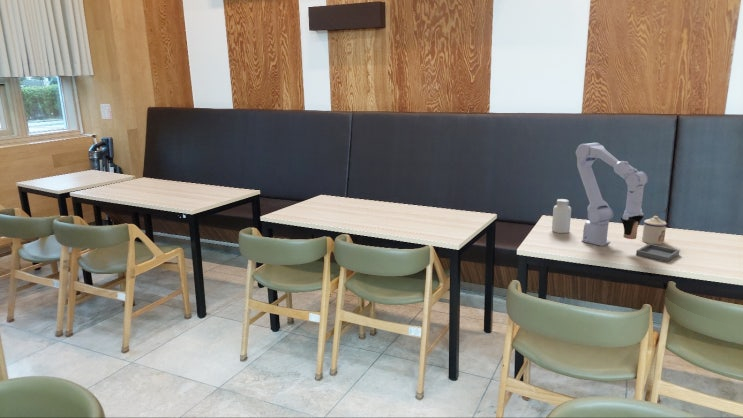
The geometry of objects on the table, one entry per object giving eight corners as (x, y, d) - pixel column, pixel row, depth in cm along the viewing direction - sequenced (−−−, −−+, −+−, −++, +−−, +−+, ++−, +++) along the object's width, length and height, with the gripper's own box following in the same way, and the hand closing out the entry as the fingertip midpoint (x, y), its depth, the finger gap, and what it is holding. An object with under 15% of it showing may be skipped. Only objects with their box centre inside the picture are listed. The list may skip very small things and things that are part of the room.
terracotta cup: (621, 237, 227) (623, 220, 225) (626, 234, 230) (628, 218, 228) (633, 239, 224) (635, 223, 222) (638, 237, 227) (640, 221, 225)
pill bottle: (550, 228, 262) (552, 198, 258) (567, 229, 261) (570, 198, 257) (553, 233, 254) (555, 201, 250) (571, 234, 253) (574, 202, 249)
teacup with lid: (662, 246, 235) (666, 220, 232) (639, 242, 240) (642, 217, 237) (666, 239, 245) (670, 214, 242) (644, 235, 250) (647, 211, 247)
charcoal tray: (635, 255, 224) (636, 250, 224) (648, 248, 233) (649, 243, 232) (667, 262, 216) (667, 257, 215) (678, 254, 224) (679, 250, 224)
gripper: (637, 206, 215) (632, 239, 219) (651, 200, 225) (647, 231, 228) (619, 203, 220) (615, 235, 224) (633, 197, 230) (630, 228, 233)
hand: (630, 233), depth 226 cm, fingers closed on terracotta cup, 5 cm apart
